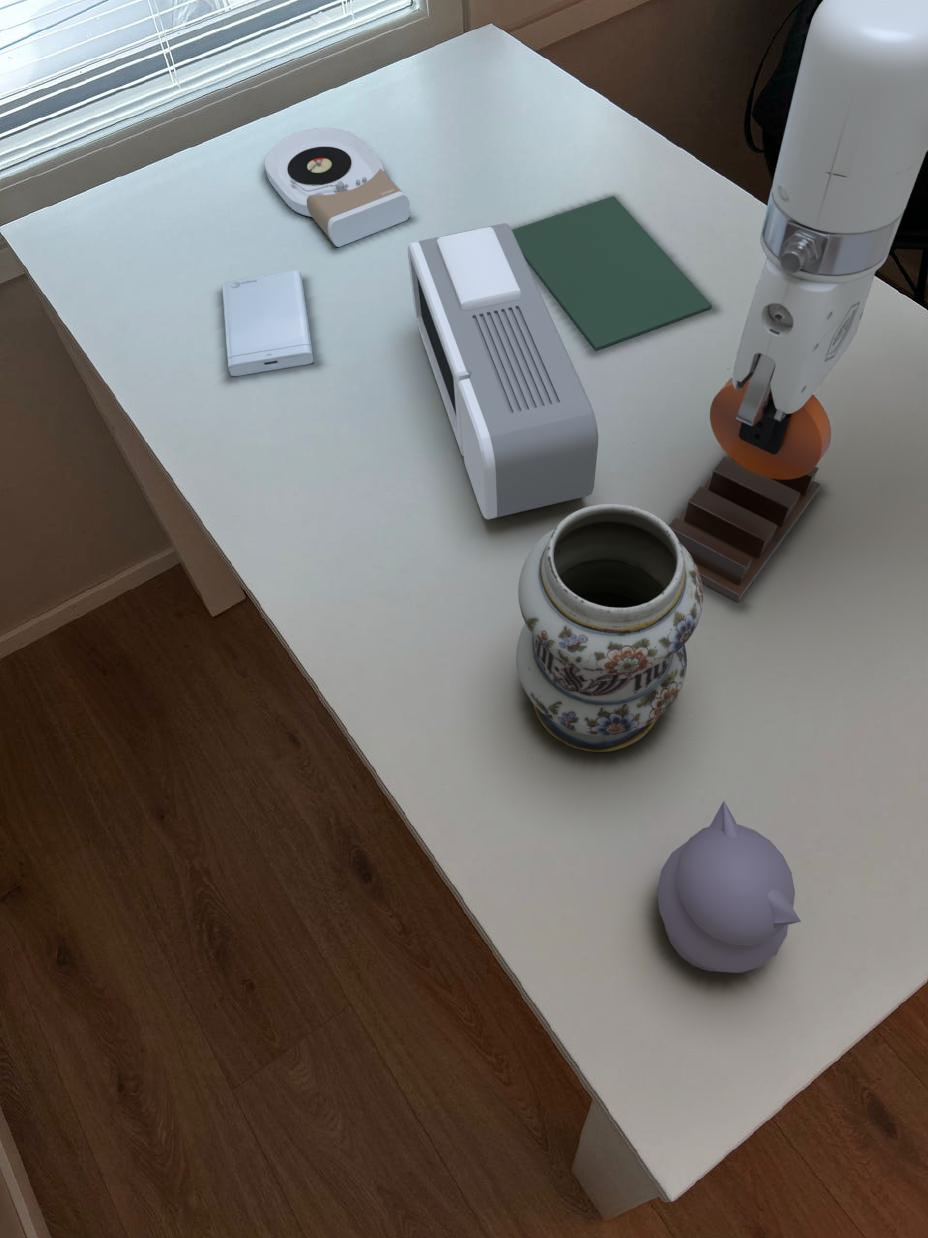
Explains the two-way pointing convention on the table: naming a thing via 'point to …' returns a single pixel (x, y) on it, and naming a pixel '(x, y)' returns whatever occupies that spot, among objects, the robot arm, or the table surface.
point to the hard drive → (266, 323)
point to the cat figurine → (726, 897)
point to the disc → (799, 445)
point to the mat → (608, 272)
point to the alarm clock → (502, 372)
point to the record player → (335, 183)
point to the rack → (740, 523)
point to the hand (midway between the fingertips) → (766, 434)
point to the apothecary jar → (606, 625)
